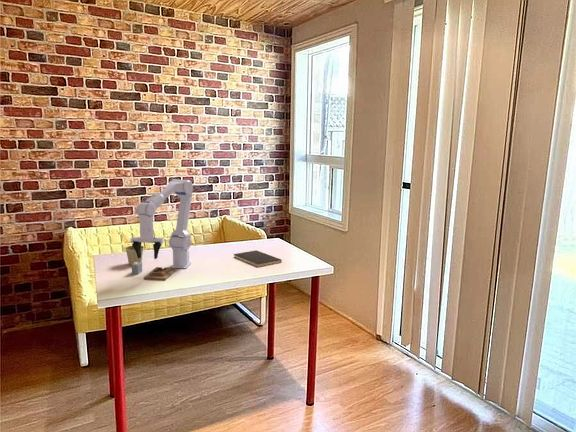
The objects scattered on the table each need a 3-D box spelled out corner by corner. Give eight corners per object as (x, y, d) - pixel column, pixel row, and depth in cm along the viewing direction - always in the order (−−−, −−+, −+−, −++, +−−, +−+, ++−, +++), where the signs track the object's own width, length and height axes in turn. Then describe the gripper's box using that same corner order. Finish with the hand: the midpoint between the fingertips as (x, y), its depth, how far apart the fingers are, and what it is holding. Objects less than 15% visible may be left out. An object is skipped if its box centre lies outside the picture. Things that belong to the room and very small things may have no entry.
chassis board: (155, 270, 203) (155, 265, 202) (175, 271, 202) (175, 266, 202) (144, 279, 189) (143, 274, 188) (165, 280, 188) (165, 275, 188)
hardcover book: (257, 268, 212) (257, 263, 212) (233, 258, 230) (233, 254, 229) (281, 263, 222) (281, 259, 222) (257, 253, 240) (257, 250, 239)
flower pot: (130, 267, 206) (129, 250, 204) (122, 263, 212) (121, 247, 210) (148, 264, 212) (147, 247, 211) (139, 260, 219) (138, 244, 217)
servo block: (136, 271, 201) (135, 260, 200) (142, 271, 200) (141, 260, 199) (131, 274, 196) (131, 263, 195) (138, 274, 195) (137, 263, 195)
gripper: (127, 230, 183) (128, 259, 185) (159, 231, 182) (160, 261, 185) (133, 227, 190) (134, 255, 192) (164, 228, 189) (165, 256, 192)
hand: (147, 258), depth 189 cm, fingers open, 7 cm apart
